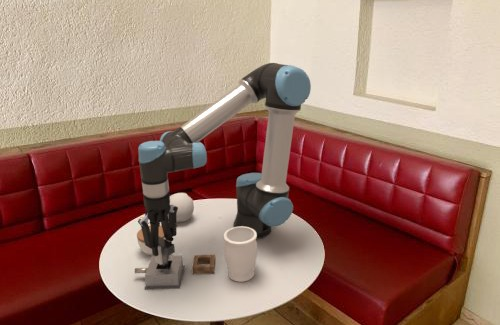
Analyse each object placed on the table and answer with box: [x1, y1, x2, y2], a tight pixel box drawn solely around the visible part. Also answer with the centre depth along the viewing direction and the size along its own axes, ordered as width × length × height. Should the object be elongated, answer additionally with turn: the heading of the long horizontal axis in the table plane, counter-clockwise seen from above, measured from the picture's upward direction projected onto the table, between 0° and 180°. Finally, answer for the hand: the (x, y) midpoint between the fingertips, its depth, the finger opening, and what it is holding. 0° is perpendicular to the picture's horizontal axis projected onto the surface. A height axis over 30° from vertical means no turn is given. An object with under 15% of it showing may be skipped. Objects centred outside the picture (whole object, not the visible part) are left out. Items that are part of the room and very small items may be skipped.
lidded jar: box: [136, 224, 166, 257], centre depth 135 cm, size 11×11×9 cm
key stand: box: [191, 254, 216, 275], centre depth 127 cm, size 7×7×2 cm
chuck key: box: [158, 237, 176, 269], centre depth 120 cm, size 9×3×12 cm, turn 50°
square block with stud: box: [134, 254, 186, 290], centre depth 121 cm, size 15×11×5 cm
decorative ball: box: [168, 192, 195, 223], centre depth 156 cm, size 12×12×12 cm
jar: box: [223, 226, 258, 283], centre depth 121 cm, size 11×10×15 cm
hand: (163, 260), depth 120 cm, fingers closed on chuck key, 3 cm apart
